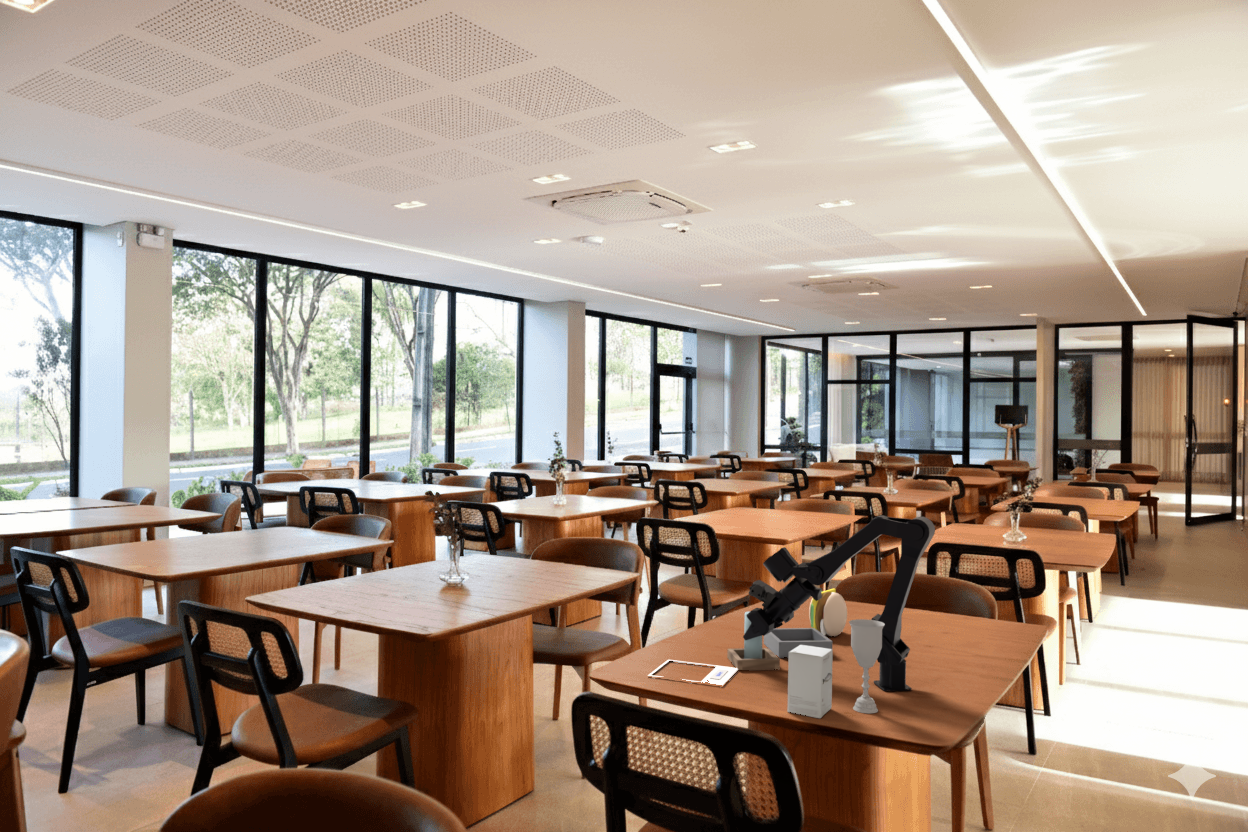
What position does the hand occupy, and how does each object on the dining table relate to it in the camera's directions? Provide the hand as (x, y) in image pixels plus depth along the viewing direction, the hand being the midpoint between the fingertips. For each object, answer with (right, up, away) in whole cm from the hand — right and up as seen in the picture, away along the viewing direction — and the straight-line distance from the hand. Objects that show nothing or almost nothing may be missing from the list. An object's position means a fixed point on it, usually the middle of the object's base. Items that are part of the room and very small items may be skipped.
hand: (748, 636), depth 214 cm
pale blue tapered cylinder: (+1, -7, -1) cm, 7 cm away
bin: (+15, -7, +13) cm, 21 cm away
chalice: (+20, -7, -33) cm, 39 cm away
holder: (+1, -7, -1) cm, 7 cm away
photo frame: (-14, -7, -9) cm, 18 cm away
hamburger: (+27, -7, +29) cm, 40 cm away
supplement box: (+8, -7, -34) cm, 36 cm away
